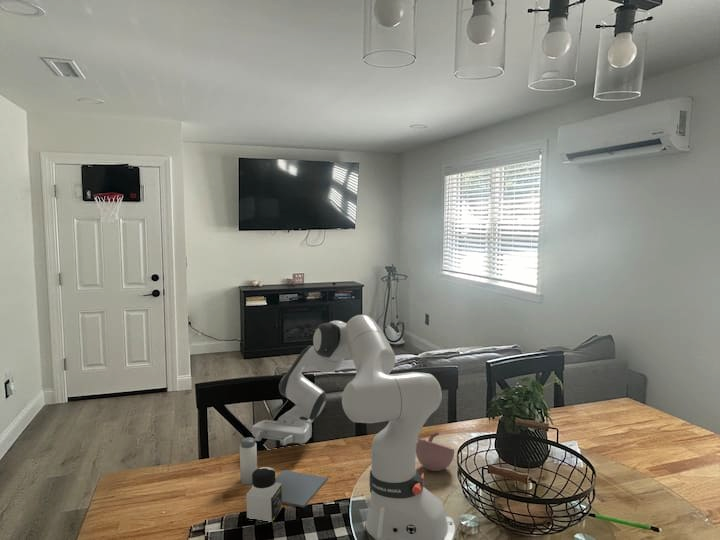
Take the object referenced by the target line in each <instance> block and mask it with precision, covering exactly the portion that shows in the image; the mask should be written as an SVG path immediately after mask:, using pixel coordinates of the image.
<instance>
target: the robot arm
mask: <svg viewBox="0 0 720 540" xmlns="http://www.w3.org/2000/svg"><path fill="white" fill-rule="evenodd" d="M312 339H313V340H312V343H313V345H308V346H307V347H305V348H304V349H303V350H301V352H300V353H299V354H298V355H297V357H296V359H295V360H294V362H293V364H292V365H291V366H290V368H289V369H288V371H287V373H286V374H284V376H283V377H282V378H281V380H280V382H279V384H278V389H279V394H280V395H281V396H282V397H285V399H287V400H290V401H291V402H292V403H293V404H295V405H294V406H293V407H292V408H291V409H289V410H287V411H286V412H285V413H283V414H282V415H280V416H279V417H278V419H277V420H270V419H263V420H261V421H258V422H257V423H254V424H253V425H252V426H251V427H252V428H251V429H252V430H251V434H252V436H253V438H254V439H255V442H260V441H262V439H269V440H275V441H279V442H280V443H279V445H281V446H286V445H288V444H291V443H295V444H299V445H301V444H302V445H303V444H306V443H307V442H308V441H309V440H310V438H312V435H313V433H312V432H313V429H312V428H313V427H312V423H313V422H314V420H315V419H317V418H318V417H319V416H320V415H321V414H322V413H323V411H324V410H325V408H326V405H327V394H326V391H324V390H323V389H322V388H320V387H319V386H318V385H316V384H315V383H313V382H312V381H310V380H309V379H308V378H307V377H305V376H304V375H303V374H302V373H303V371H304V370H305V368H311V369H313V370H315V371H318V372H321V373H330V372H334V371H336V370H338V369H339V368H340V367H341V366H342V364H343V363H344V361H345V360H352V361H353V364H354V367H355V370H356V371H355V373H356V374H355V376H354V377H353V379H352V380H351V381H349V382H348V383H347V384H346V386H345V387H344V389H343V392H342V396H341V404H342V405H341V406H342V409H343V411H344V414H345V415H346V417H347V418H348V419H349V420H350V421H351V422H353V423H361V424H376V423H382V422H388V424H387V425H386V426H385V427H384V428H383V429H382V430H380V431H379V432H378V433H377V434H376V435H375V436H374V438H372V442H371V445H370V450H371V451H370V453H371V454H370V455H371V456H370V457H371V459H370V460H371V462H370V464H371V468H370V469H371V470H370V471H369V477H368V478H369V479H368V482H369V484H368V485H369V492H370V501H369V507H368V508H369V509H368V514H367V518H366V521H365V529H366V531H367V533H368V535H370V536H371V537H372V538H373V539H374V540H455V538H456V532H457V530H456V523H455V521H454V520H453V518H452V517H450V516H448V515H447V514H446V508H445V506H444V503H443V502H442V500H441V499H440V498H439V497H437V496H436V495H434V494H433V493H432V492H430V490H428V489H427V488H426V487H425V486H424V479H425V478H424V477H425V475H424V472H422V473H421V475H420V474H419V473H418V472H417V470H416V458H417V455H416V444H417V441H418V439H419V436H420V433H421V432H422V429H423V427H424V425H425V424H426V422H427V420H428V419H429V417H430V416H431V415H433V413H434V412H436V411H437V410H438V409H439V406H440V404H441V403H442V398H443V396H442V395H443V394H442V393H443V392H442V386H441V385H440V383H439V381H438V379H437V378H436V377H435V376H434V375H433V374H431V373H427V372H418V371H410V372H401V373H392V371H393V369H394V368H395V366H396V355H395V354H396V353H395V352H394V350H393V348H392V346H391V344H390V342H389V341H388V339H387V337H386V335H385V333H384V332H383V330H382V329H381V327H380V325H378V323H377V322H376V321H375V320H374V319H373V318H372V317H371V316H369V315H366V314H356V315H354V316H353V317H351V318H350V319H349V320H348V321H347V322H344V321H342V320H332V321H329V322H324V323H320V324H319V325H318V326H317V327H316V328H315V330H314V335H313V337H312ZM390 373H391V374H390Z"/></svg>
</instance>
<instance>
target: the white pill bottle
mask: <svg viewBox="0 0 720 540" xmlns="http://www.w3.org/2000/svg"><path fill="white" fill-rule="evenodd" d="M257 447H258V446H257V442H256V441H255V437H251V436H249V437H244V438H241V440H240V444H239V463H240V464H239V466H240V468H239V469H240V471H239V473H240V483H241V484H243V485H252V473H253V472H254V471H255V470H256V469H258V455H257V454H258V450H257Z"/></svg>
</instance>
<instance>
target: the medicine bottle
mask: <svg viewBox="0 0 720 540" xmlns="http://www.w3.org/2000/svg"><path fill="white" fill-rule="evenodd" d="M275 478H276V470H275V469H274V468H273V467H268V466H262V467H259V468H258V467H257V469H256V470H255V471H254V472H253V473H252V484H251V485H252V486H251V488H250V489H249V491H247V493H246V499H245V500H246V519H247V518H249V519H258V520H263V521H268V522H267V523H270V522H272V523H273V522H274V521H275V519H276V518H277V516H278V515H279V513H280V511H281V510H282V508H283V503H282V492H281V483H276V480H275ZM276 515H277V516H276ZM275 517H276V518H275ZM273 520H274V521H273Z"/></svg>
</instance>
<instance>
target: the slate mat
mask: <svg viewBox="0 0 720 540" xmlns="http://www.w3.org/2000/svg"><path fill="white" fill-rule="evenodd" d="M275 480H276V483H281V492H282V505H289V506H293V507H297V508H298V507H299V508H305V507H306V506H307V505H308V504H309V502H310V501H311V500H312V499H313V497H314V496H316V494H317V493H318V491H319V490H320V489H321V488H322V487H323V486H324V484H325V483H326V482H327V481H328V480H329V479H328V477H325V476H321V475H314V474H308V473H305V472H304V473H303V472H299V471H298V472H297V471H293V470H287V469H283V470H282V471H281V472H280V473H279V474H278V475H276V476H275Z"/></svg>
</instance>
